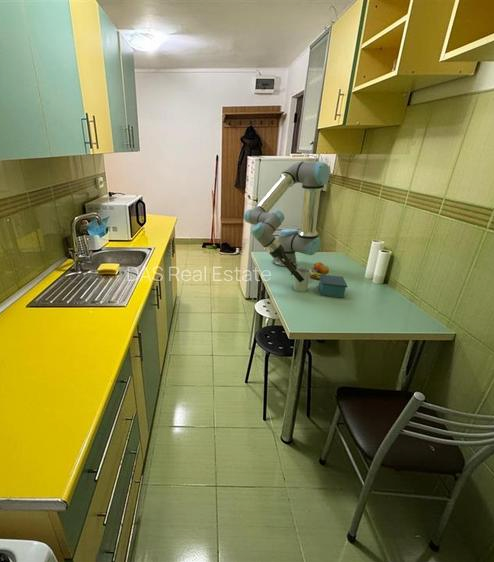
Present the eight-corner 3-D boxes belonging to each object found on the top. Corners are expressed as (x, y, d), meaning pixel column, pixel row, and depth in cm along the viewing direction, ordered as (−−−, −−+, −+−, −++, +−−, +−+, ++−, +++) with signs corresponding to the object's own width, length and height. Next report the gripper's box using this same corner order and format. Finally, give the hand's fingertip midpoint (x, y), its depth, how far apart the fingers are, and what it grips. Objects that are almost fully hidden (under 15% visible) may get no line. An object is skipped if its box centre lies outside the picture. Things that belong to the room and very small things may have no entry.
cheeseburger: (306, 272, 190) (313, 258, 185) (323, 278, 188) (330, 264, 183) (306, 277, 181) (313, 263, 176) (323, 284, 179) (331, 269, 174)
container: (318, 285, 172) (320, 274, 169) (340, 288, 169) (342, 276, 166) (320, 295, 160) (323, 283, 157) (344, 298, 158) (347, 286, 155)
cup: (293, 285, 171) (296, 267, 167) (306, 287, 170) (310, 268, 165) (293, 290, 165) (296, 272, 160) (307, 292, 163) (311, 273, 159)
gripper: (265, 245, 171) (288, 271, 177) (272, 260, 149) (298, 289, 154) (276, 237, 169) (299, 263, 174) (284, 250, 146) (311, 280, 151)
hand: (299, 275), depth 164 cm, fingers open, 13 cm apart
